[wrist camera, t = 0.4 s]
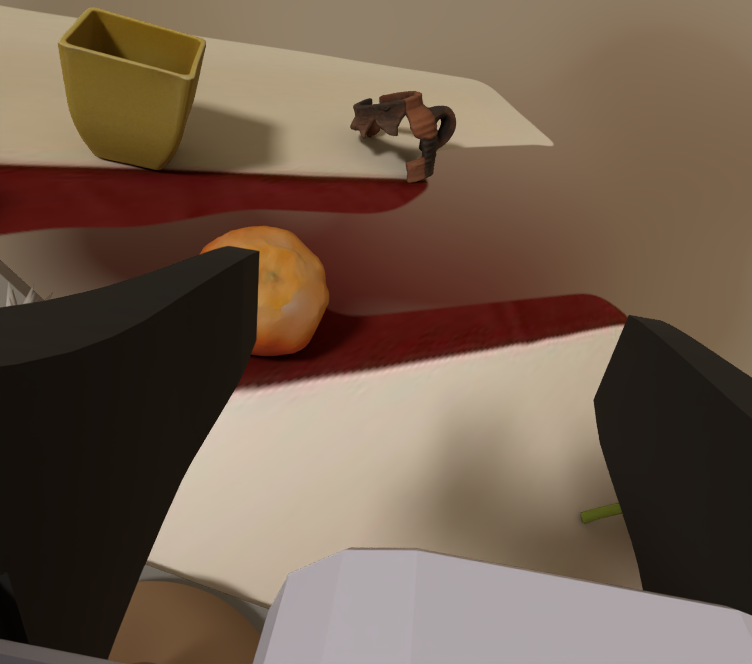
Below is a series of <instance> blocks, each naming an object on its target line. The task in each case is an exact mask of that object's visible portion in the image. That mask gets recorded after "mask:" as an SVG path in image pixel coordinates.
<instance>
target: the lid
mask: <svg viewBox="0 0 752 664" xmlns="http://www.w3.org/2000/svg"><path fill="white" fill-rule="evenodd" d="M260 638H261V636H260V634H259V633H258V632H257V630H256V629H255V628H254V627H253V626H252V624H251V623H250V622H249V621H248V620H247V619H246V618H245V617H244V616H243V615H242V614H241V613H239V612H238V611H237V610H236V609H235V608H233V607H232V606H231V605H230V604H228V603H226V602H225V601H223V600H222V599H220V598H218V597H217V596H215V595H212V594H210V593H208V592H206V591H203V590H201V589H198V588H195V587H191V586H188V585H185V584H179V583H173V582H166V581H141V582H138V583H137V586H136V588H135V591H134V593H133V596H132V598H131V601H130V603H129V606H128V608H127V611H126V613H125V616H124V618H123V621H122V623H121V626H120V628H119V631H118V634H117V636H116V639H115V642H114V644H113V647H112V650H111V652H110V655H109V658H108V660H110V661H116V662H121V663H126V664H253V661H254V658H255V654H256V651H257V648H258V644H259V641H260Z"/></svg>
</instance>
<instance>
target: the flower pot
mask: <svg viewBox="0 0 752 664" xmlns="http://www.w3.org/2000/svg"><path fill="white" fill-rule="evenodd" d="M58 47H59V54H60V60H61V66H62V72H63V79H64V84H65V90H66V96H67V102H68V106H69V111H70V114H71V117H72V119H73V122H74V124H75V126H76V128H77V130H78V132H79V134H80V136H81V137H82V139H83V141H84V142H85V143H86V145H87V146H88V147H89V149H90V150H91V151H92V152H93V154H94V155H95V156H97V157H100V158H104V159H108V160H113V161H117V162H122V163H127V164H131V165H136V166H140V167H145V168H149V169H153V170H162V169H163V168H164V167H165V166H166V165H167V164H168V162H169V161H170V160H171V158H172V157H173V156H174V154H175V152H176V150H177V148H178V146H179V144H180V141H181V139H182V135H183V132H184V128H185V125H186V121H187V118H188V115H189V113H190V110H191V107H192V104H193V101H194V98H195V93H196V89H197V84H198V80H199V75H200V70H201V66H202V61H203V56H204V52H205V48H206V41H205V40H204V39H201V38H199V37H195V36H192V35H188V34H185V33H182V32H178V31H174V30H171V29H167V28H163V27H160V26H157V25H154V24H150V23H147V22H143V21H140V20H136V19H133V18H129V17H126V16H123V15H119V14H116V13H112V12H109V11H105V10H102V9H98V8H94V7H91V8H89V9H87V10H86V11H85V12H84V13H83V14H82V15H81V16H80V17H79V18H78V19H77V20H76V21H75V23H74V24H73V25H72V26H71V27H70V28H69V29H68V30H67V32H66V33H64V34H63V35H62V37H61V38H60V40H59V42H58Z"/></svg>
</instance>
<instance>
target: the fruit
mask: <svg viewBox="0 0 752 664" xmlns="http://www.w3.org/2000/svg"><path fill="white" fill-rule="evenodd" d="M225 246H234V247H239V248H245V249H251V250H257V251H260V255H259V284H258V313H257V340H256V343H255V345H254V348H253V350H252V353H251V355H258V356H278V355H285V354H292V353H295V352H297V351H300V350H302V349H303V348H304V347H306V346H307V345H308V344H309V342H310V340H311V339H312V337H313V335H314V333H315V331H316V329H317V327H318V325H319V322H320V320H321V318H322V316H323V314H324V312H325V309H326V307H327V305H328V303H329V291H328V289H327V286H326V275H325V271H324V267H323V265H322V263H321V262H320V260H319V259H318V257H316V256H315V255H314V254H313V253H312V252H311V251H310V250H309V249H308V248H307V247H306V246H305V245H304V244H303V243H302V242H301V241H300V240H299V239H298V237H296V235H294V234H293V233H291V232H290V231H287V230H283V229H279V228H276V227H268V226H255V227H246V228H241V229H237V230H232V231H230V232H228V233H226V234H224V235H223V236H221V237H218V238H217V239H215V240H214V241H212V242H211V243H209V244H207V245H206V246H205V247H204V248H203V250H202V252H201V253H200V254H202V253H205V252H208V251H211V250H214V249H217V248H221V247H225Z"/></svg>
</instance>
